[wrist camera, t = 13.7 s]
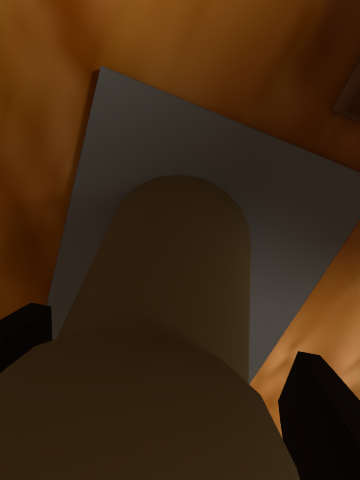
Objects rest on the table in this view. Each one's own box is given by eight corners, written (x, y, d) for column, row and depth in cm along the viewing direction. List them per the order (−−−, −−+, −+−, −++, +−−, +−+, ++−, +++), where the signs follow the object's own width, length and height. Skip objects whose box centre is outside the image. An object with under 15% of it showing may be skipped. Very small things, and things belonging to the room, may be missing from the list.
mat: (234, 397, 17) (235, 405, 16) (44, 330, 16) (39, 336, 16) (377, 179, 12) (384, 182, 11) (105, 67, 11) (100, 65, 10)
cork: (164, 141, 11) (-247, 409, 1) (282, 237, 12) (619, 826, 2) (84, 253, 13) (-300, 684, 3) (190, 326, 14) (144, 824, 4)
